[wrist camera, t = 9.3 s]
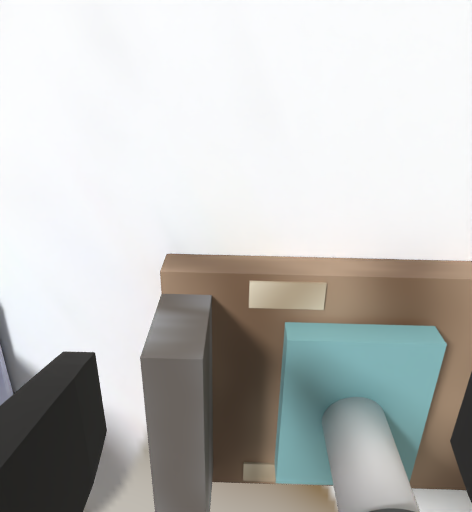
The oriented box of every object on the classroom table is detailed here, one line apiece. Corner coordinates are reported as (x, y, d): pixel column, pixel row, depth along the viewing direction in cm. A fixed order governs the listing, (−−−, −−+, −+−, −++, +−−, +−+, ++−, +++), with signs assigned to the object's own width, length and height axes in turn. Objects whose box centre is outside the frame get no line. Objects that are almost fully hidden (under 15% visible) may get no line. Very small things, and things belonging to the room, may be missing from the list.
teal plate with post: (274, 460, 22) (285, 634, 15) (284, 322, 18) (304, 473, 12) (400, 465, 22) (462, 641, 15) (435, 326, 18) (534, 480, 12)
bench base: (178, 454, 24) (160, 563, 19) (166, 253, 19) (137, 331, 14) (515, 464, 24) (585, 578, 19) (597, 264, 19) (725, 347, 14)
